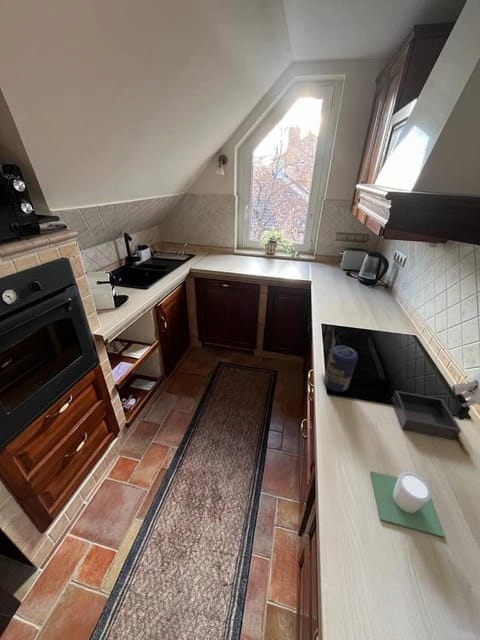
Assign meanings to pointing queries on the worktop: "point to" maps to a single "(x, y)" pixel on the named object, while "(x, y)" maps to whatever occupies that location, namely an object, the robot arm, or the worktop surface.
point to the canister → (340, 368)
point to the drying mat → (391, 513)
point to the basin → (424, 415)
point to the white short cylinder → (411, 492)
